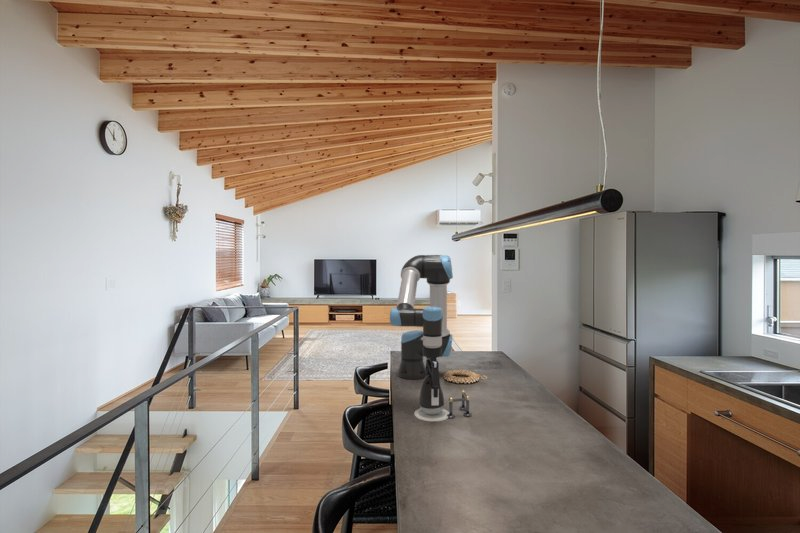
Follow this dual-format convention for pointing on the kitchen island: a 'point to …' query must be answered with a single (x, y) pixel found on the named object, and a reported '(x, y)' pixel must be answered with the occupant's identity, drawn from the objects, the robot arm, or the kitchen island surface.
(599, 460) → the kitchen island surface
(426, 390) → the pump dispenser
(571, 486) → the kitchen island surface
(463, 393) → the metal corner railing
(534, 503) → the kitchen island surface
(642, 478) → the kitchen island surface
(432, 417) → the coaster
